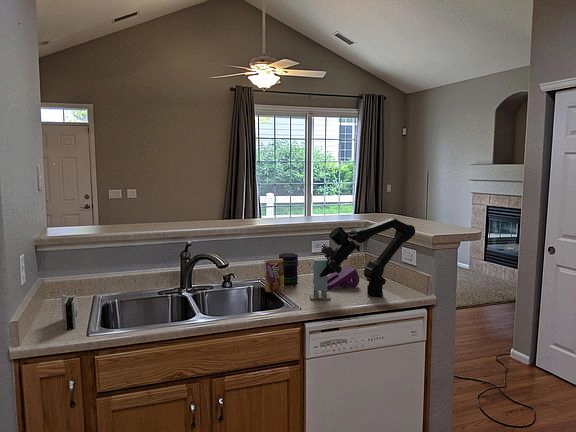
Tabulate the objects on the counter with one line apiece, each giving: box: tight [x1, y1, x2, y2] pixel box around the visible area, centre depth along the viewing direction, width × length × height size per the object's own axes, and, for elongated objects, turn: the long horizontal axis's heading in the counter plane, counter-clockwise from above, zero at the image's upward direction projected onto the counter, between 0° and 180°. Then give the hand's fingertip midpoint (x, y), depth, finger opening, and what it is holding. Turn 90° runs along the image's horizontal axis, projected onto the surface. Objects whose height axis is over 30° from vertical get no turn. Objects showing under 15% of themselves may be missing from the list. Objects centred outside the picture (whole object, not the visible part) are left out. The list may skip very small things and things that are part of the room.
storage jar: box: [278, 252, 299, 287], centre depth 226 cm, size 10×10×15 cm
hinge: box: [60, 294, 79, 331], centre depth 169 cm, size 14×5×10 cm, turn 31°
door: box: [312, 258, 328, 292], centre depth 201 cm, size 6×3×14 cm, turn 92°
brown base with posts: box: [309, 290, 332, 302], centre depth 202 cm, size 9×6×4 cm
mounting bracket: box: [327, 264, 360, 291], centre depth 221 cm, size 9×8×18 cm
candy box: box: [264, 258, 285, 293], centre depth 213 cm, size 9×4×15 cm, turn 104°
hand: (319, 275), depth 201 cm, fingers closed on door, 3 cm apart
